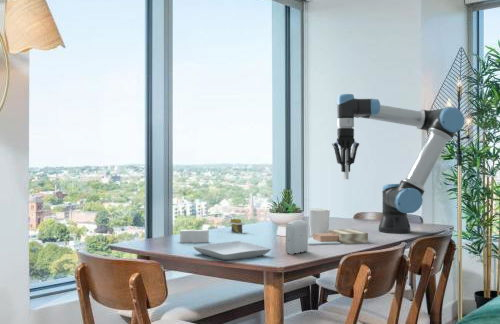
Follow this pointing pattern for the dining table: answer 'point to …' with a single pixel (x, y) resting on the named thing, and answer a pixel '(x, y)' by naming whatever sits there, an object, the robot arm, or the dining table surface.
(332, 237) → the terracotta tile
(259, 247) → the salad plate
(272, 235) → the dining table surface
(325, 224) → the candle holder
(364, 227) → the dining table surface
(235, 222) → the brown and yellow container
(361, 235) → the birch board
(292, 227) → the white upright block
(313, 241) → the rubber mat
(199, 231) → the napkin holder
